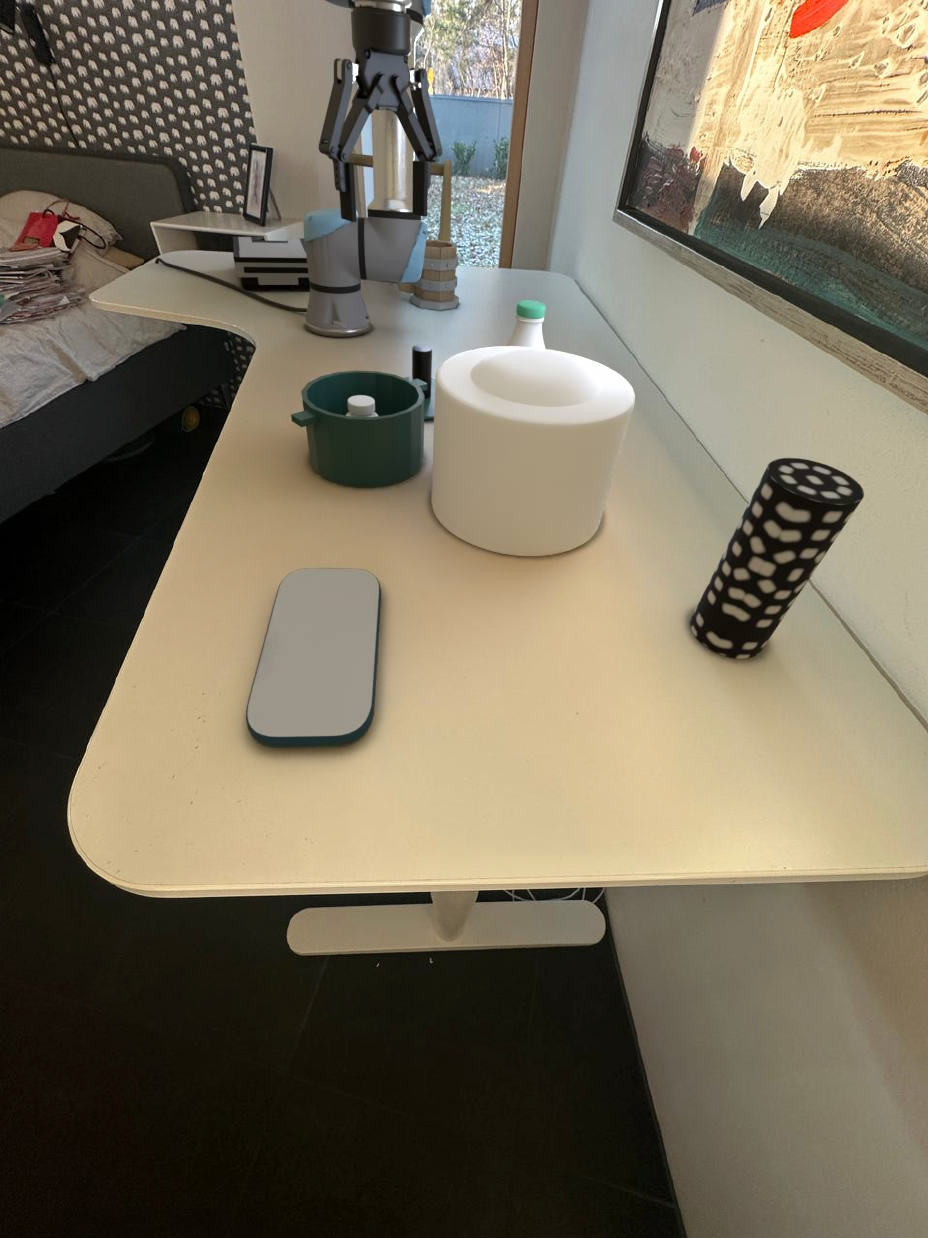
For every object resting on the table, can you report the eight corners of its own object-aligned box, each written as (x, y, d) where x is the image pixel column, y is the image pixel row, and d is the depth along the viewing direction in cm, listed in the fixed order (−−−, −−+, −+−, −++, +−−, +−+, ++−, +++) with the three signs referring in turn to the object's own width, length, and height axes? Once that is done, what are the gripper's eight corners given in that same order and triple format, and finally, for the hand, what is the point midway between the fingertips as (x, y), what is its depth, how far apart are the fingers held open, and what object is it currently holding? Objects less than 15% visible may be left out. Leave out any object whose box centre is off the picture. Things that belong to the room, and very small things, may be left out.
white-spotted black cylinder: (679, 608, 66) (751, 456, 53) (743, 607, 67) (830, 458, 53) (706, 659, 61) (795, 504, 47) (776, 658, 61) (884, 505, 48)
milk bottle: (540, 421, 102) (560, 301, 88) (530, 438, 97) (550, 313, 83) (500, 413, 104) (514, 293, 90) (488, 429, 98) (501, 305, 84)
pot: (273, 458, 85) (260, 390, 78) (389, 420, 98) (387, 359, 91) (339, 507, 77) (332, 436, 70) (456, 459, 89) (461, 395, 82)
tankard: (461, 300, 157) (464, 237, 147) (452, 312, 148) (455, 246, 138) (393, 291, 159) (392, 229, 149) (381, 302, 150) (379, 237, 139)
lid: (352, 395, 104) (348, 342, 98) (425, 375, 114) (426, 325, 108) (416, 431, 95) (417, 375, 89) (489, 406, 105) (494, 353, 99)
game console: (306, 264, 174) (303, 233, 169) (318, 292, 153) (315, 257, 147) (237, 263, 169) (232, 231, 163) (240, 292, 147) (233, 256, 142)
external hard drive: (372, 749, 49) (371, 737, 48) (240, 752, 48) (235, 739, 47) (382, 580, 66) (382, 567, 65) (285, 579, 65) (282, 566, 64)
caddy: (449, 281, 172) (454, 157, 151) (440, 289, 165) (445, 159, 144) (361, 268, 176) (355, 145, 155) (348, 276, 168) (340, 147, 147)
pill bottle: (376, 465, 85) (373, 409, 79) (343, 461, 85) (338, 405, 79) (384, 450, 89) (382, 395, 83) (352, 446, 89) (348, 391, 83)
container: (437, 456, 89) (442, 322, 75) (588, 468, 90) (621, 337, 76) (424, 548, 71) (428, 394, 57) (613, 563, 72) (662, 413, 58)
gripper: (311, -10, 60) (331, 227, 74) (472, 22, 73) (461, 217, 88) (275, -8, 63) (300, 217, 78) (434, 21, 77) (430, 209, 91)
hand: (385, 217), depth 83 cm, fingers open, 13 cm apart
